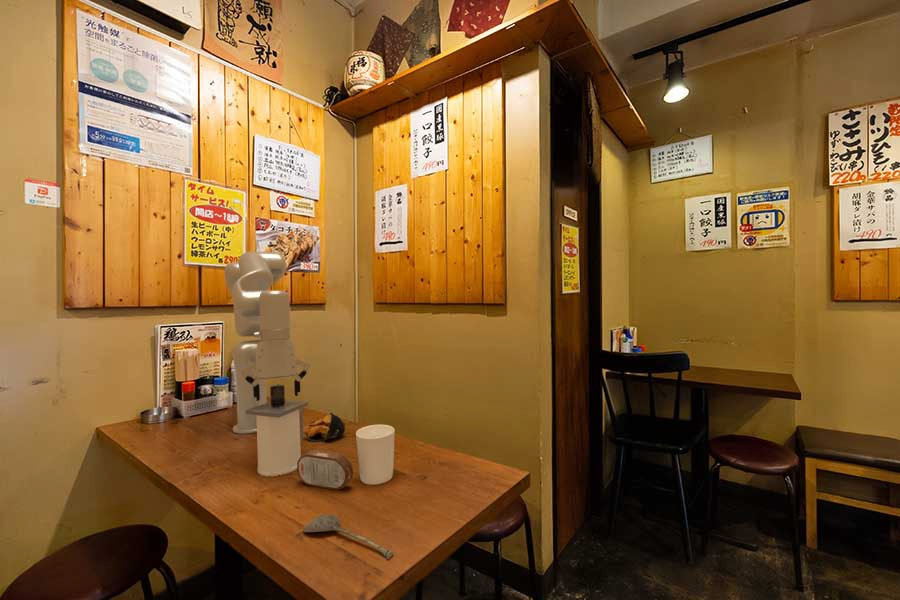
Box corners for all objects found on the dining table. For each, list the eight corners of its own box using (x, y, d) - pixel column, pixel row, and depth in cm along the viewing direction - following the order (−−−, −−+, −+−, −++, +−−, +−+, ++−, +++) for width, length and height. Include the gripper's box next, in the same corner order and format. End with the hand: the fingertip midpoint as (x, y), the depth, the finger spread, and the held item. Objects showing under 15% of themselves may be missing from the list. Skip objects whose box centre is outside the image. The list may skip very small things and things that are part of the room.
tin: (354, 487, 95) (353, 453, 95) (346, 493, 92) (345, 458, 92) (304, 479, 100) (303, 446, 99) (295, 485, 97) (294, 451, 97)
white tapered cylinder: (362, 490, 93) (361, 441, 93) (353, 473, 102) (351, 428, 102) (401, 480, 98) (400, 433, 97) (388, 465, 106) (387, 422, 106)
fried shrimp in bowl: (348, 427, 124) (290, 417, 117) (337, 454, 127) (280, 445, 120) (348, 409, 132) (294, 399, 126) (338, 434, 135) (285, 425, 129)
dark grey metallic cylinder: (279, 439, 112) (277, 382, 112) (300, 442, 109) (298, 383, 109) (257, 450, 105) (255, 388, 104) (279, 453, 102) (277, 390, 102)
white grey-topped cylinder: (286, 452, 117) (284, 396, 116) (316, 457, 113) (314, 399, 112) (247, 473, 104) (245, 410, 103) (280, 479, 100) (278, 413, 100)
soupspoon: (322, 519, 83) (296, 537, 78) (321, 504, 83) (295, 521, 78) (402, 549, 72) (378, 573, 66) (400, 531, 72) (376, 554, 66)
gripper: (238, 339, 99) (241, 405, 100) (309, 334, 107) (311, 396, 107) (241, 336, 106) (243, 398, 107) (307, 332, 113) (309, 390, 114)
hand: (277, 397), depth 107 cm, fingers open, 9 cm apart
